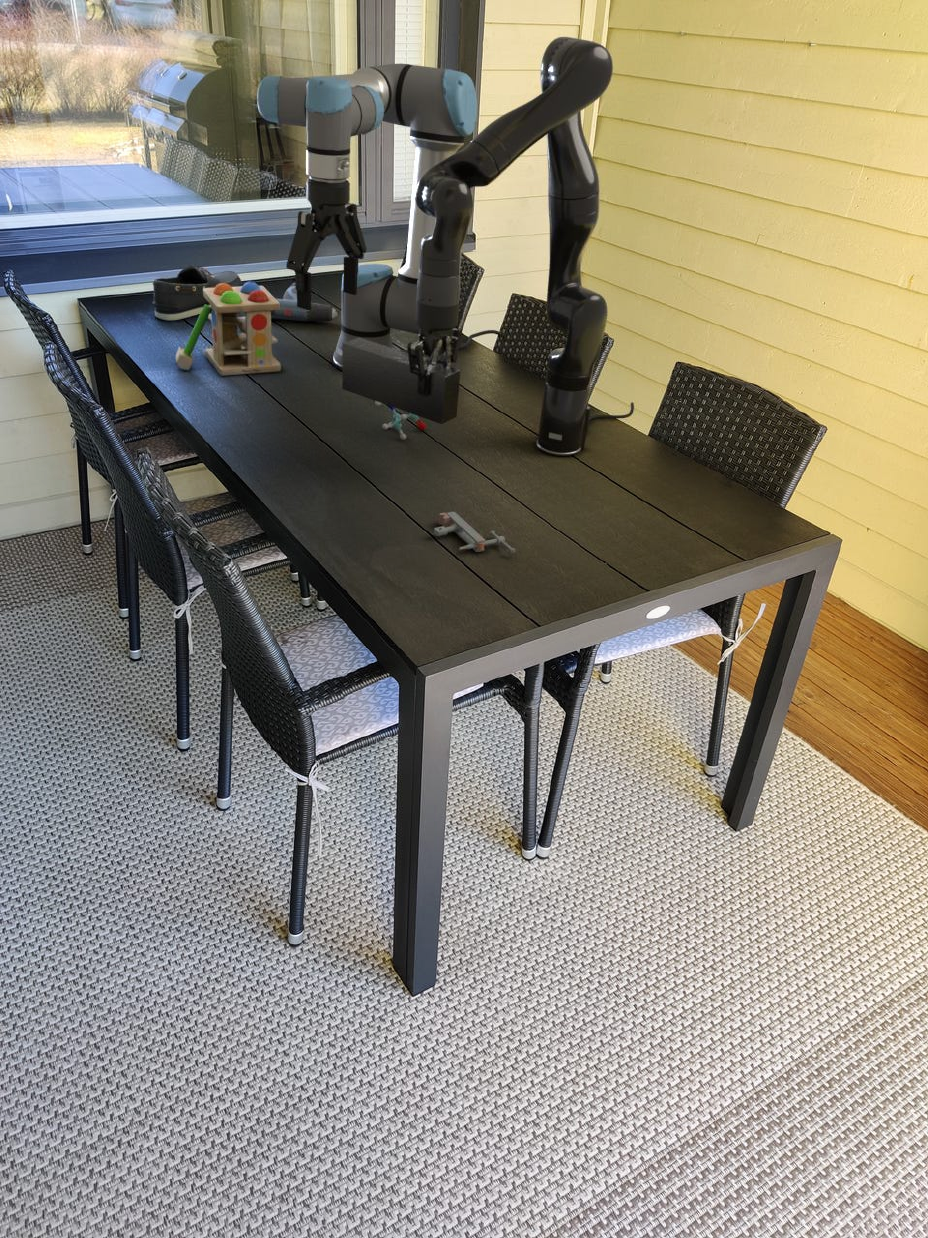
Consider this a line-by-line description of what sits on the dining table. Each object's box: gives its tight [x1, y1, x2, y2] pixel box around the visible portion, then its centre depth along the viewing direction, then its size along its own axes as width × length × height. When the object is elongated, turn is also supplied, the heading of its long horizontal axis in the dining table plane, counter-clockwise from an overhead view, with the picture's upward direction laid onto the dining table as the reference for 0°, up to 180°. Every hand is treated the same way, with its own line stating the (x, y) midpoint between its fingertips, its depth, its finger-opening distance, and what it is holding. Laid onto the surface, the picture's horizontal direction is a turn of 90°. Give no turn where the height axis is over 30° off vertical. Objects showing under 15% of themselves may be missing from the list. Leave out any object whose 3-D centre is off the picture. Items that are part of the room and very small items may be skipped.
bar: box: [341, 338, 461, 425], centre depth 184 cm, size 24×5×9 cm, turn 56°
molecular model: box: [374, 400, 427, 441], centre depth 205 cm, size 12×10×10 cm
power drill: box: [271, 282, 338, 322], centre depth 265 cm, size 5×19×20 cm
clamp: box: [433, 511, 516, 555], centre depth 170 cm, size 15×2×10 cm
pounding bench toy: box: [174, 281, 282, 377], centre depth 225 cm, size 23×14×18 cm, turn 116°
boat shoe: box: [151, 264, 243, 321], centre depth 263 cm, size 13×33×10 cm, turn 147°
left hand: (327, 300), depth 183 cm, fingers open, 13 cm apart
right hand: (432, 390), depth 180 cm, fingers closed on bar, 5 cm apart
